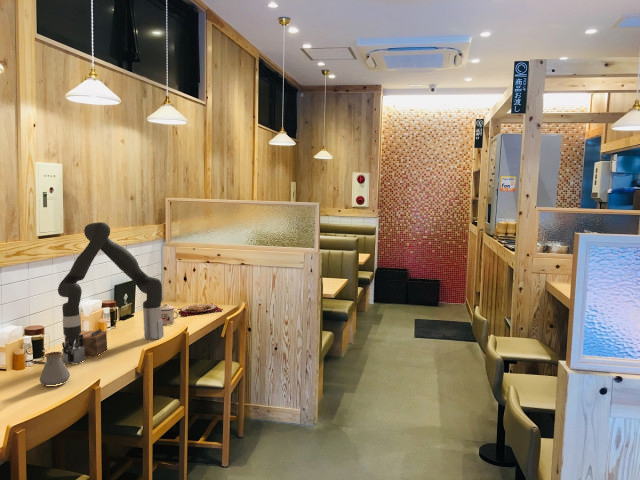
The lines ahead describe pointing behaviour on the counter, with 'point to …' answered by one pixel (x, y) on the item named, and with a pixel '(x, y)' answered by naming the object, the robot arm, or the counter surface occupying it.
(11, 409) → the counter surface
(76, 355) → the lock block
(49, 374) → the coffee pot
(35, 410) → the counter surface
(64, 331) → the robot arm
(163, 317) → the teacup with lid
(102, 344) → the coupler stand
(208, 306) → the plate with food
